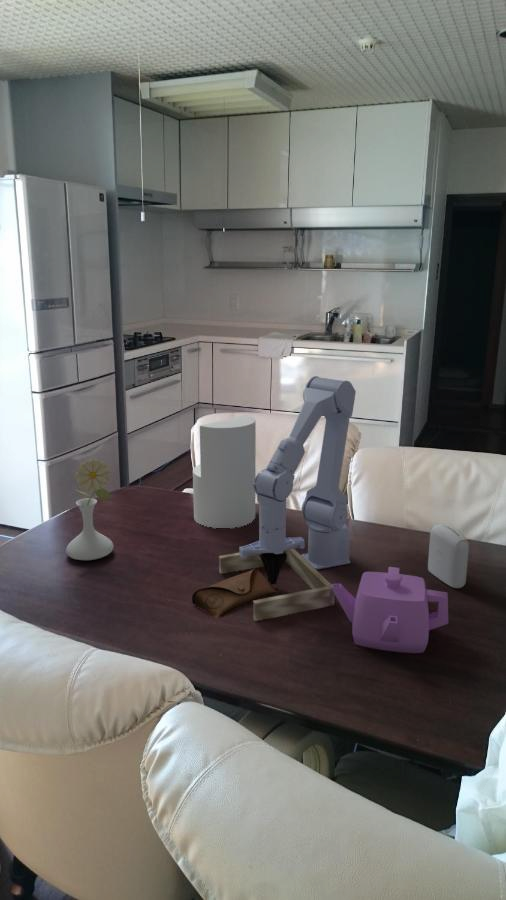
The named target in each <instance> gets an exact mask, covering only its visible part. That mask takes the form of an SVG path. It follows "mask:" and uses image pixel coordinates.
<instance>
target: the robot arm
mask: <svg viewBox="0 0 506 900" xmlns="http://www.w3.org/2000/svg"><path fill="white" fill-rule="evenodd" d="M356 392H357V391H356V389H355V388H354V385H353V384H352V383H351V382H350V381H349V380H340V379H333V378H326V377H321V376H317V375H315V376H312V377H310V378H309V379H308V380H307V382H306V384H305V388H304V389H303V391H302V399H303V400H302V401H303V404H302V407H301V410H300V411H299V414H298V416H297V417H296V421H295V423H294V425H293V427H292V430H291V431H290V434H289V437H287V438H283V439H282V440H281V441H280V442H279V444H278V446H277V448H276V450H275V451H274V453H273V455H272V457H271V459H270V461H269V463H268V464H267V466H266V468H264V469H263V470H260V471H259V472H258V473H257V474H256V475H255V483H254V484H253V488H254V491H255V495H256V501H257V502H258V503H259V504H258V505H259V506H258V508H259V509H258V510H259V513H258V517H259V519H258V522H259V523H258V525H259V526H258V527H259V528H258V529H259V530H258V533H259V534H258V535H259V536H258V537H259V540H257V541H254V542H252V543H249V544H247V545H244V546H243V545H242V546H239V549H238V551H239V552H238V553H239V555H240V556H241V557H242V559H244V558H247V556H253V555H259V556H260V558H261V560H262V562H263V564H264V567H263V568H264V569H265V573H266V577H267V581H268V582H269V583H270V585H275V584H277V582H278V578H279V575H280V572H281V569H282V568H283V566H284V564H285V563H284V562H285V561H286V560H287V554H286V553H285V550H289V549H295V550H296V549H301V550H302V549H303V550H304V549H305V545H306V544H305V542H306V541H305V539H304V538H303V537H302V536H298V537H287V499H288V498H289V496H290V495H291V493H292V491H293V488H294V480H295V472H296V471H297V469H298V467H299V465H300V463H301V462H302V460H303V458H304V456H305V454H306V453H305V447H304V445H305V442H306V441H307V439H309V436H310V434H312V432H313V430H314V429H315V427H316V426H317V424H318V422H319V421H320V419H321V418H322V417H324V419H325V423H324V424H325V425H324V432H323V437H322V443H321V452H320V459H319V464H318V471H317V478H316V483H315V484H316V485H314V486H313V487H311V488H310V489H307V491H306V494H305V498H304V501H303V502H302V505H301V516H302V519H303V520H305V523H306V524H305V525H306V526H308V537H307V538H308V540H307V553H302V554H300V555H301V556H302V557H303V558H304V559H305V560H306V561H307V562H308V563H309V564H310V565H311V566H312V567H314V568H315V569H316V570H317V571H318V570H321V569H328V568H333V567H338V566H343V565H344V566H345V565H349V564H351V560H350V543H351V536H350V530H349V528H348V526H347V525H346V523H347V520H348V515H349V513H348V512H349V511H348V497H347V496H346V495H345V494H344V492H343V491H342V490H341V489H340V483H341V476H342V471H343V470H342V468H343V465H344V464H343V463H344V456H345V450H346V443H347V438H348V431H349V426H350V425H349V424H350V419H351V417H353V412H354V406H355V400H356V399H355V398H356V394H357V393H356Z"/></svg>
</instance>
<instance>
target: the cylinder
mask: <svg viewBox="0 0 506 900" xmlns="http://www.w3.org/2000/svg"><path fill="white" fill-rule="evenodd" d="M256 422H257V421H256V419H255V417H253V416H251V415H248V414H243V415H239V416H236V417H230V418H228V419H222V420H218V421H213V422H210V423H206V424H201V425H199V453H200V454H199V456H200V462H199V463H200V464H198V465H196V466H194V468H193V469H192V490H193V491H192V492H193V493H192V495H193V497H192V498H193V519H194V521H195V522H196V523H197V524H198V523H199V524H198V525H200V524H201V525H200V526H202V525H204V526H203V527H206V526H207V527H206V528H209V527H212V528H211V529H216V528H230V529H236V528H235V527H237V528H242V527H244V525H245V526H248V525H250V524H252V521H253V520H254V519H256V493H255V491H254V488H253V484H254V483H255V478H256V457H257V456H256V452H257V451H256V445H257V444H256V442H257V441H256V436H257V435H256V431H257V430H256V428H257V427H256V425H257V424H256ZM254 521H255V520H254ZM254 521H253V522H254ZM249 523H250V524H249ZM247 524H248V525H247ZM241 526H242V527H241Z"/></svg>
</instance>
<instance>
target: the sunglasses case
mask: <svg viewBox="0 0 506 900" xmlns="http://www.w3.org/2000/svg"><path fill="white" fill-rule="evenodd" d="M258 568H259V567H258ZM258 568H252V569H250V570H249V571H246V572H243V573H240V574H237V575H234V576H232V577H228V578H227V579H224V580H221V581H218V582H216V583H214V584H212V585H208V586H206V587H201V588H198V589H197V590H195V591H194V592H193V593H192V598H191V599H192V604H195V605H196V606H195V605H194V606H195V607H197V606H198V607H199V609H200V608H201V609H200V610H202V609H203V610H205V611H206V612H205V611H204V612H205V613H207V612H208V613H209V614H208V613H207V614H208V615H210V614H211V615H210V616H212V617H214V616H215V617H214V618H215V619H218V618H217V617H219V618H221V617H223V616H224V615H226V614H228V613H230V612H232V611H234V610H236V608H237V609H239V608H241V607H244V606H246V605H248V604H251V603H253V602H252V601H254V600H257V599H258V600H259V598H261V599H263V598H266V597H268V596H271V595H275V594H277V593H279V590H277V589H275V588H274V587H273V586H272V584H270V583H269V582H268V579H266V577H264V575H263V574H262V572H260V571H259V569H258ZM265 596H266V597H265ZM262 597H263V598H262ZM250 602H251V603H250ZM245 604H246V605H245ZM243 605H244V606H243ZM240 606H241V607H240ZM198 607H197V608H198ZM238 607H239V608H238ZM203 610H202V611H203ZM220 616H221V617H220Z"/></svg>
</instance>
